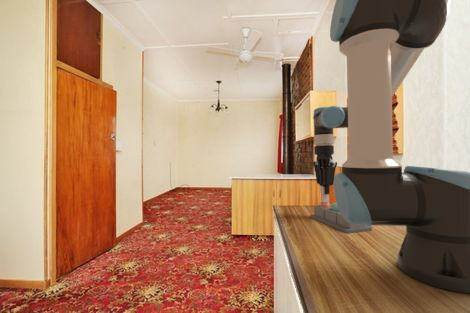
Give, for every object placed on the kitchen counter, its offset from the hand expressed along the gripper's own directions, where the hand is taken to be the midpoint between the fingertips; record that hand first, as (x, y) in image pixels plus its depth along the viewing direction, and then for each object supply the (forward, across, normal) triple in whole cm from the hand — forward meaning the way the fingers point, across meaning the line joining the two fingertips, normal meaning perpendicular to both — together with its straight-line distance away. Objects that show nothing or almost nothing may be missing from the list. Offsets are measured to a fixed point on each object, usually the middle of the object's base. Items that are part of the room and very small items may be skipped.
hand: (325, 201), depth 95 cm
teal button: (+4, -7, 0) cm, 8 cm away
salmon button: (+5, 0, 0) cm, 5 cm away
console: (+7, -7, 0) cm, 10 cm away
